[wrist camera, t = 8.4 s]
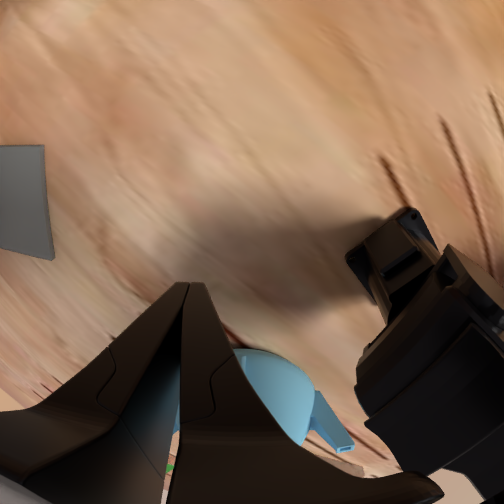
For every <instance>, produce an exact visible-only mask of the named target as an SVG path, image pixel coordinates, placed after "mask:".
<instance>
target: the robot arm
mask: <svg viewBox="0 0 504 504" xmlns="http://www.w3.org/2000/svg"><path fill="white" fill-rule="evenodd" d="M413 213H415V216H414V217H411V215H412V214H413ZM443 252H444V253H443V255H441V254H440V253H439V251H438V248H437V246H436V244H435V242H434V240H433V238H432V236H431V234H430V232H429V230H428V228H427V226H426V224H425V222H424V220H423V218H422V216H421V214H420V212H419V211H418V210H417V209H416V208H410V209H408V210H407V211H406V212H404V213H403V214H401V215H400V216H399V217H397V218H396V219H395V220H391V221H390V222H388V223H387V224H386V225H384V226H383V227H381V228H380V229H379V230H377V231H376V232H374V233H373V234H372V235H370V236H369V237H367V238H366V239H365V241H364V242H362V243H361V244H360V245H358V246H357V247H355V248H354V249H352V250H351V251H349V252H348V253H347V254H346V256H345V260H346V263H347V264H348V266H349V267H350V268H351V270H352V271H353V272H354V274H355V275H356V276H357V278H358V279H359V280H360V282H361V283H362V284H363V286H364V287H365V288H366V290H367V291H368V292H369V294H370V295H371V296H372V298H373V299H374V300H375V302H376V303H377V305H378V307H379V309H380V312H381V314H382V317H383V319H384V321H385V324H386V327H385V328H384V329H383V330H382V331H381V333H380V334H379V335H378V336H377V337H376V338H375V339H374V340H373V341H372V343H369V344H368V345H367V346H366V347H365V348H364V350H363V355H362V357H361V358H360V359H359V361H358V364H357V367H356V377H357V384H356V385H355V386H354V391H355V394H356V397H357V399H358V402H359V404H360V405H361V407H362V409H363V410H364V412H365V414H366V415H367V416H368V417H369V419H368V420H366V421H365V422H364V425H365V427H366V428H368V429H369V430H370V431H372V432H373V433H374V434H376V435H377V436H378V437H379V438H380V439H381V440H382V441H383V442H384V443H385V444H386V445H387V446H388V448H389V449H390V451H391V452H392V454H393V455H394V457H395V459H396V460H397V462H398V464H399V465H400V467H401V469H402V470H403V472H401V473H396V474H393V475H389V476H385V477H380V478H362V477H357V476H353V475H351V474H349V473H346V472H344V471H343V470H341V469H339V468H337V467H335V466H334V465H332V464H330V463H328V462H327V461H325V460H323V459H321V458H320V457H318V456H316V455H315V454H313V453H311V452H309V451H308V450H306V449H305V448H303V447H301V446H300V445H298V444H297V443H296V442H294V441H293V440H292V439H291V438H290V437H289V436H288V435H287V434H286V432H285V431H284V430H283V429H282V427H281V426H280V425H279V424H278V422H277V421H276V419H275V418H274V417H273V415H272V414H271V413H270V411H269V410H268V408H267V407H266V406H265V404H264V403H263V402H262V400H261V399H260V397H259V396H258V394H257V393H256V391H255V390H254V388H253V387H252V385H251V384H250V382H249V380H248V379H247V377H246V375H245V373H244V371H243V369H242V367H241V365H240V363H239V361H238V359H237V357H236V356H235V353H234V350H233V348H232V346H231V344H230V341H229V339H228V337H227V335H226V332H225V330H224V328H223V325H222V323H221V321H220V319H219V316H218V314H217V312H216V309H215V307H214V305H213V302H212V300H211V297H210V295H209V293H208V290H207V288H206V286H205V284H204V283H203V282H192V283H191V284H190V283H189V282H176V283H175V284H173V285H172V286H171V287H170V288H169V289H168V290H167V291H166V292H165V293H164V294H163V295H162V296H160V297H159V298H158V299H157V300H156V301H155V302H154V303H153V304H152V305H151V306H150V307H149V308H148V309H147V310H145V311H144V312H143V313H142V314H141V315H140V316H139V317H138V318H137V319H136V320H135V321H134V322H133V323H132V324H131V325H129V326H128V327H127V328H126V329H125V330H124V331H123V332H122V333H121V334H120V335H119V336H118V337H117V338H116V339H115V340H114V341H113V342H112V343H111V344H110V345H109V346H108V347H109V348H108V347H106V348H105V349H104V350H103V351H102V352H101V353H100V354H99V355H98V356H97V357H96V358H95V359H93V360H92V361H91V362H90V363H89V364H88V365H87V366H86V367H85V368H83V369H82V370H81V371H80V372H78V373H77V374H76V375H75V376H74V377H72V378H71V379H70V380H68V381H67V382H66V383H65V384H63V385H62V386H61V387H60V388H58V389H57V390H56V391H54V392H53V393H52V394H51V395H49V396H48V397H47V398H46V399H44V400H43V401H41V402H40V403H38V404H37V405H35V406H33V407H30V408H27V409H23V410H14V411H3V412H0V504H161V498H162V493H163V487H164V480H165V474H166V468H167V463H168V457H169V451H170V446H171V440H172V435H173V430H174V424H175V419H176V414H177V409H178V404H179V424H180V434H179V446H178V451H177V455H176V460H175V464H174V468H173V473H172V477H171V482H170V486H169V491H168V496H167V500H166V504H432V503H435V502H436V501H438V500H440V499H441V498H443V497H444V495H445V494H444V492H443V491H442V489H441V488H440V487H439V486H438V485H437V484H436V483H435V482H434V481H432V480H431V479H430V478H428V477H427V476H429V475H430V474H432V473H434V472H436V471H437V470H439V469H441V468H443V469H446V470H449V471H453V472H457V473H461V474H463V475H465V477H467V479H468V480H469V481H470V482H471V483H472V485H473V486H474V487H475V489H476V490H477V491H478V493H479V494H480V495H481V497H482V498H483V499H484V502H482V503H480V504H504V289H503V288H502V287H501V286H500V285H499V284H498V283H497V282H496V281H495V279H494V278H493V277H492V276H491V275H490V274H489V273H488V272H487V271H485V270H484V269H483V268H481V267H480V266H479V265H477V264H476V263H475V262H473V261H472V260H471V259H469V258H468V257H467V256H465V255H464V254H462V253H461V252H460V251H458V250H457V249H456V248H454V247H453V246H451V245H450V244H448V245H447V246H446V247H445V249H444V250H443ZM351 257H355V258H354V259H353V260H350V258H351Z"/></svg>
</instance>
